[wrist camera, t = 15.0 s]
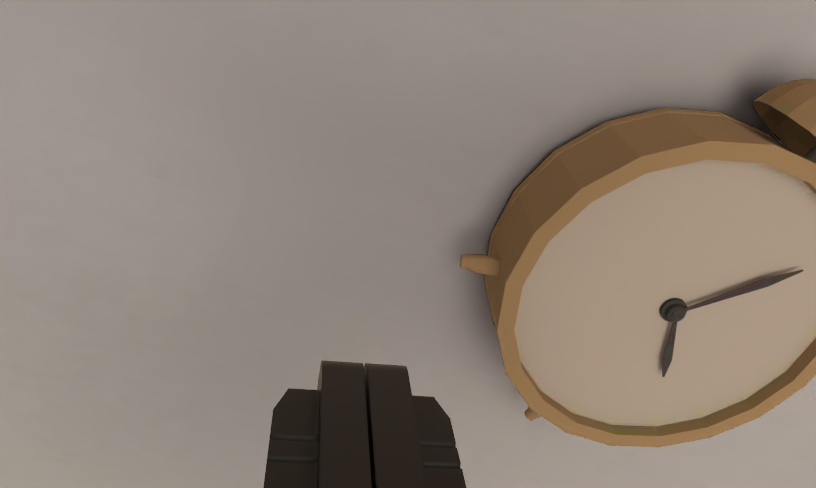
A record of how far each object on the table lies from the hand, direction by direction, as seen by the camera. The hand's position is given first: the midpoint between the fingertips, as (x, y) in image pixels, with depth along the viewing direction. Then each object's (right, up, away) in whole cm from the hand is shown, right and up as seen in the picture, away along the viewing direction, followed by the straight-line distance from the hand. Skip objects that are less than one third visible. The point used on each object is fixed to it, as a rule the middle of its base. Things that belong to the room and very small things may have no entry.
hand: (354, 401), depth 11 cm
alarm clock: (+11, +3, +11) cm, 15 cm away
